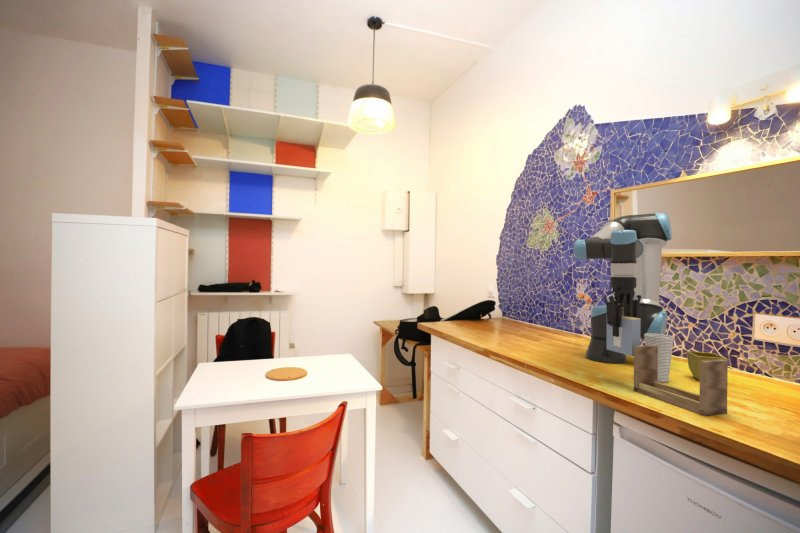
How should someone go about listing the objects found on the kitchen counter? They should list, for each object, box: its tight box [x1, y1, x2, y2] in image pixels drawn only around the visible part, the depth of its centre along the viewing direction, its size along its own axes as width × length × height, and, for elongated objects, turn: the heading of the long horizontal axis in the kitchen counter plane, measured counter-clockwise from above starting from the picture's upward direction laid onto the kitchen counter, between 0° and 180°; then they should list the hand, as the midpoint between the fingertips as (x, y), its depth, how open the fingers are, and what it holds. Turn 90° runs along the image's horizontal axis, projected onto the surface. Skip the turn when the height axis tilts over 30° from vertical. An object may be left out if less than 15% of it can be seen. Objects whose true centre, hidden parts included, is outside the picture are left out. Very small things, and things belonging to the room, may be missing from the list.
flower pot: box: [686, 350, 728, 381], centre depth 130 cm, size 9×9×9 cm
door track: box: [633, 344, 729, 417], centre depth 108 cm, size 8×21×14 cm, turn 17°
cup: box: [643, 333, 674, 383], centre depth 129 cm, size 8×8×16 cm
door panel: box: [606, 316, 641, 357], centre depth 125 cm, size 4×10×12 cm, turn 17°
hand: (622, 345), depth 125 cm, fingers closed on door panel, 3 cm apart
